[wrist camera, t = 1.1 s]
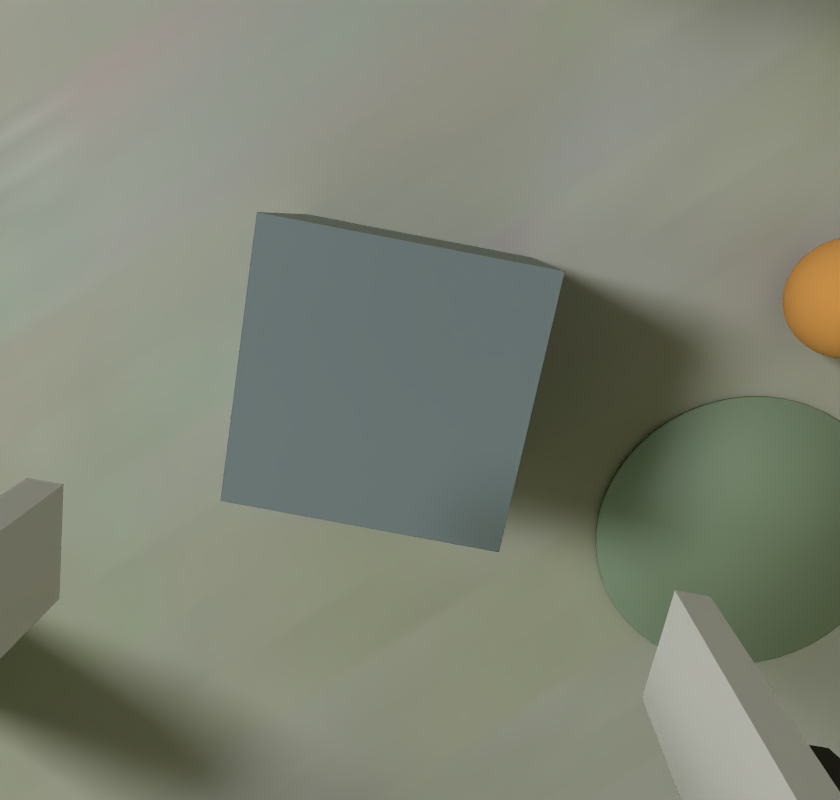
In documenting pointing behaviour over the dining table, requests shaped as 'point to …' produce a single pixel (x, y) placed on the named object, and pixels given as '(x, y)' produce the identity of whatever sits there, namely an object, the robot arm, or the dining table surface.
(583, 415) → the dining table surface
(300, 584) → the dining table surface
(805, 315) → the ball
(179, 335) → the dining table surface
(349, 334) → the slate square block
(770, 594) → the green flat disc
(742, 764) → the robot arm
